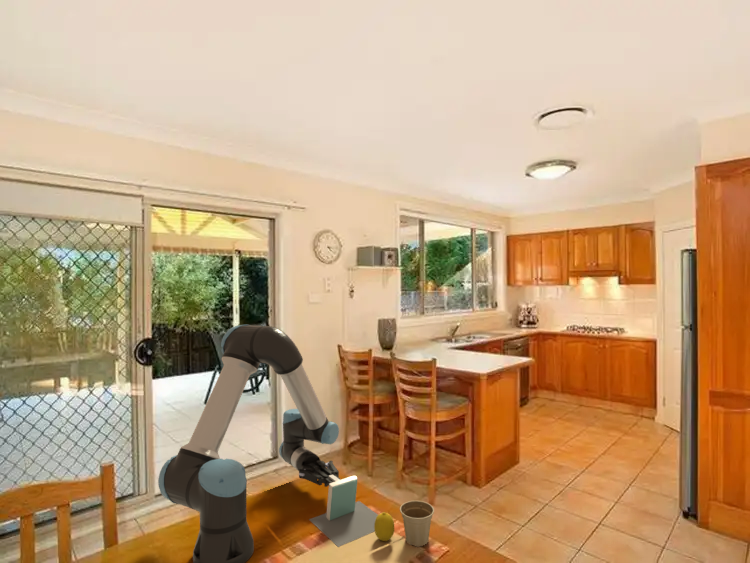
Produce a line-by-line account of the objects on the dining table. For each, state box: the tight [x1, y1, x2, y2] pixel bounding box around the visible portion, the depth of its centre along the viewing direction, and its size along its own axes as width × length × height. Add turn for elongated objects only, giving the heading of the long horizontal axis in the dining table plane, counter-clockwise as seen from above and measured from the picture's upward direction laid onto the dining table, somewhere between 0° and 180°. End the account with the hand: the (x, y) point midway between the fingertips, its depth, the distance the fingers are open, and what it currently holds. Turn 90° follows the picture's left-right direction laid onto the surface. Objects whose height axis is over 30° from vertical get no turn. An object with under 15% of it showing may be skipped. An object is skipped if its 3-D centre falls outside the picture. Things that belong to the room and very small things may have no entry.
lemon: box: [374, 511, 395, 542], centre depth 120 cm, size 6×6×8 cm
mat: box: [308, 500, 379, 548], centre depth 129 cm, size 18×17×1 cm
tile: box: [326, 474, 358, 520], centre depth 132 cm, size 9×2×11 cm, turn 126°
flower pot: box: [399, 500, 435, 547], centre depth 120 cm, size 9×9×9 cm
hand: (341, 486), depth 133 cm, fingers closed
